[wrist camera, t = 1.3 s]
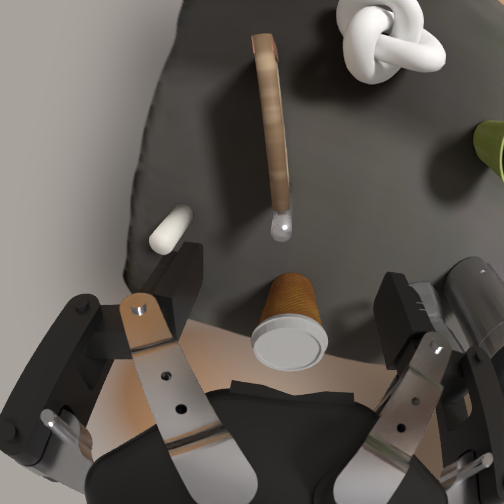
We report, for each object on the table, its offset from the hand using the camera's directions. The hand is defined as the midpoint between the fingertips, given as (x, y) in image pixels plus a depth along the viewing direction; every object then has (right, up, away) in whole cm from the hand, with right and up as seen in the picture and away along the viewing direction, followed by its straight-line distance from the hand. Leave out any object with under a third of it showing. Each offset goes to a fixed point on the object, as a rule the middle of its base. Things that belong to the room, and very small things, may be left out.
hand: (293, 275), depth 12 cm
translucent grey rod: (+2, +9, +23) cm, 25 cm away
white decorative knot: (+12, +26, +11) cm, 30 cm away
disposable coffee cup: (+4, -5, +31) cm, 32 cm away
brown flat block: (+1, +16, +18) cm, 24 cm away
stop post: (-11, +6, +27) cm, 30 cm away
